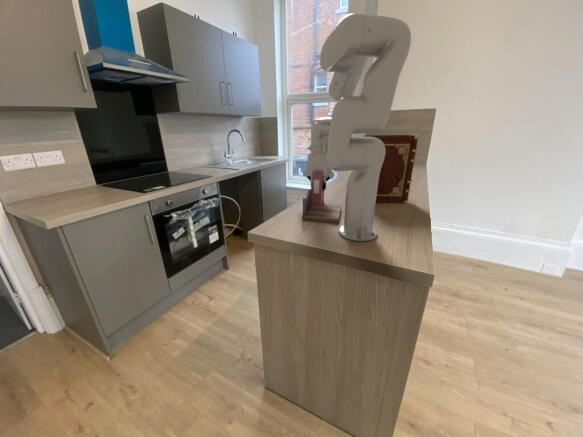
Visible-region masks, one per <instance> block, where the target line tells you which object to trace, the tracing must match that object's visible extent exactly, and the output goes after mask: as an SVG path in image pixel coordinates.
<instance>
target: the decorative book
mask: <svg viewBox="0 0 583 437" xmlns="http://www.w3.org/2000/svg"><path fill="white" fill-rule="evenodd" d="M363 137H375V138H378V139H380V140H381V141H382V142H383V143H384V145H385V158H384V161H383V164H382V167H381V171H380V175H379V181H378V188H377V196H376V204H407V205H408V203H409V194H410V192H411V183H413V182H412V175H413V170H414V164H415V162H416V153H417V151H418V149H417V146H418V141H419V139H420V135H419V134H387V135H386V134H384V135H383V134H381V135H380V134H379V135H377V134H375V135H374V134H373V135H372V134H369V135H364V136H363Z"/></svg>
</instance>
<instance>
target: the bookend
mask: <svg viewBox="0 0 583 437" xmlns="http://www.w3.org/2000/svg"><path fill="white" fill-rule="evenodd" d="M311 205H312V189H311V188H309V189H308V191H306V193H305V194H304V196H303V197H302V216H303V215H304V216H306V214H307V212H308V211H309V209H310V207H311Z"/></svg>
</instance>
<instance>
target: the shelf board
mask: <svg viewBox="0 0 583 437" xmlns="http://www.w3.org/2000/svg"><path fill="white" fill-rule="evenodd" d="M341 212H342V205H336V204H324V203H323V204H312V205H311V207H310V209H309V211H308V212H307V214H306V216H304V215H303V214H302V217H301V221H302V222H311V223H322V224H334V225H335V224H336V225H339V223H340V217H341Z"/></svg>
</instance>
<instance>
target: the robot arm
mask: <svg viewBox="0 0 583 437" xmlns="http://www.w3.org/2000/svg"><path fill="white" fill-rule="evenodd" d="M411 44H412V34H411V29H410V26H409V25H408V24H407V23H406V22H405V21H403V20H401V19H399V18H395V17H392V16H391V17H390V16H385V15H372V14H364V13H349V14H347V15H345V16H343V18H341V19H340V21H339V22H338V23H337V24H336V26H335V27H334V28H333V29H332V30H331V32H330V33H329V35H328V36H327V37H326V39H325V40H324V42H323V44H322V46H321V50H320V54H319V64H320V65H319V66H320V68H321V70H322V71H324V72H327V73H333V74H332V78H331V81H330V83H329V87H328V94H329V97H331V99H333V100H334V101H336V103H335V104H334V106H333V109H332V112H331V116H330V117H319V118H314V119H312V120H311V122H310V146H307V150H308V151H310V152H308V155H307V166H306V170H305V172H304V173H303V176H304V178H307V179H308V180H309V181H310V189H312V172H313V171H323V174H322V176H323V186H322V191H324V192H325V190H326V189H327V182H328V181H329V180H330V179H332V178H334V177H335V173H334V172H348V171H349V172H350V171H351V174H350V175H349V177H348V179H347V183H346V192H345V203H344V204H345V205H344V207H345V208H344V221H343V225H341V226H340V227H338V228H339V230H338V233H339V234H340V235H341V237H343V238H344V239H347V240H351V241H356V242H367V241H372V240H374V239H375V238H376V237H377V235H378V232H377V229H376V228H374V222H375V221H374V219H375V212H376V204H377V203H376V196H377V188H378V181H379V175H380V171H381V167H382V164H383V161H384V158H385V145H384V143H383V142H382V141H381V140H380V139H378V138H375V137H364V136H355V137H352V136H353V135H354V134H355V135H357V134H358V135H359V134H374V133H379V132H381V131H383V130H384V129H385V128H386V127H387V124H388V122H389V118H390V114H391V110H392V106H393V103H394V98H395V96H396V90H397V86H398V82H399V78H400V76H401V72H402V71H403V68H404V65H405V63H406V60H407V58H408V56H409V53H410V49H411ZM368 58H376V60H375V61H374V62H373V63H372V64H371V65H370V67H369V68H368V70H367V71H366V72H365V76H364V78H363V84H362V90H361V93H360V95H354V93H355V91H356V89H357V86H358V84H359V82H360V79H361V77H362V74H363V71H364V69H365V68H366V64H367V62H368ZM333 171H334V172H333Z"/></svg>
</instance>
